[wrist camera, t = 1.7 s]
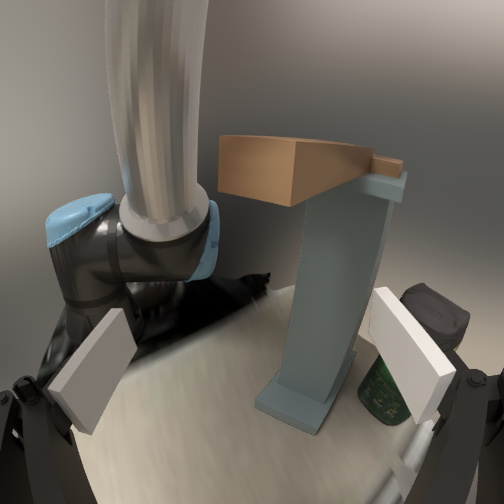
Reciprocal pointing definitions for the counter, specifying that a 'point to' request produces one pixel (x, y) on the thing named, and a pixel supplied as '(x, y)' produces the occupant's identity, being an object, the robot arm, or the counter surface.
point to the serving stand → (330, 296)
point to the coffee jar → (430, 318)
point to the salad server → (293, 167)
